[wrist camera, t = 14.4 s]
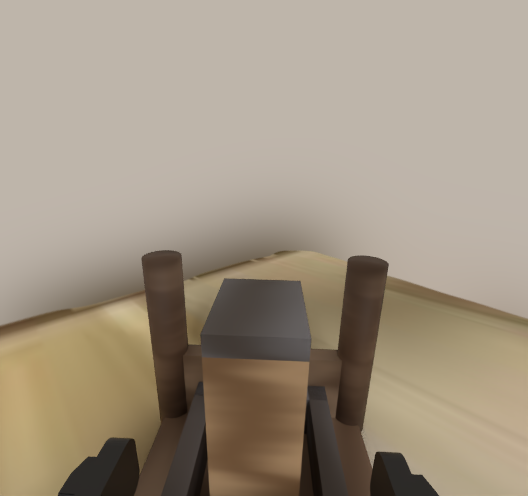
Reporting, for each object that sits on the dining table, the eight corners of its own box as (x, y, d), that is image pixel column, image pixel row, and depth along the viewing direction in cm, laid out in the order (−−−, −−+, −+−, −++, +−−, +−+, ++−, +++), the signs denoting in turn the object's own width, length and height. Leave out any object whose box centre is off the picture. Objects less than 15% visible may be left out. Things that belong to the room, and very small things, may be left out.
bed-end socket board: (357, 408, 23) (380, 255, 19) (438, 653, 12) (535, 401, 8) (167, 400, 24) (151, 249, 20) (67, 630, 12) (-20, 379, 8)
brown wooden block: (290, 450, 19) (300, 281, 15) (294, 550, 14) (311, 338, 10) (228, 447, 19) (224, 278, 15) (212, 545, 14) (200, 333, 10)
